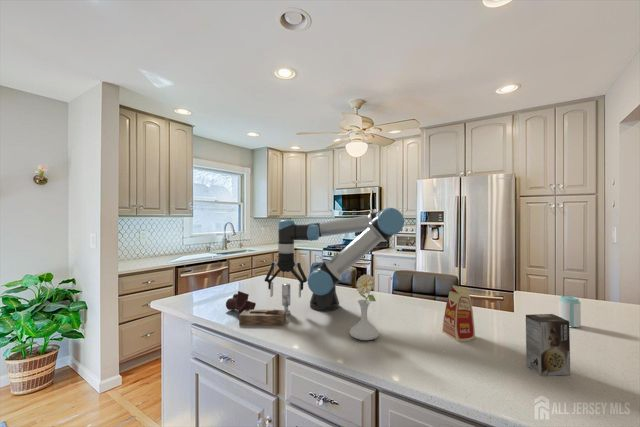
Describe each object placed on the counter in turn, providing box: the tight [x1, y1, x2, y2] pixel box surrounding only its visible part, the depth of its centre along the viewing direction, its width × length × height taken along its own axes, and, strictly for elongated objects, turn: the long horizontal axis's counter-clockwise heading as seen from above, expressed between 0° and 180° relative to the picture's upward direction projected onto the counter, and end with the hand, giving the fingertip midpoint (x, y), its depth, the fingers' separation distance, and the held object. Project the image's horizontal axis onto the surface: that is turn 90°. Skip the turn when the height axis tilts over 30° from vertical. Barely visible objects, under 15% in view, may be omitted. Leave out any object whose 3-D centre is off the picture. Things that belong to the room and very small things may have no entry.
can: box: [558, 295, 582, 328], centre depth 125 cm, size 7×7×12 cm
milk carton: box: [441, 284, 476, 342], centre depth 115 cm, size 9×9×20 cm
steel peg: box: [281, 282, 291, 316], centre depth 140 cm, size 4×4×14 cm
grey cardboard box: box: [525, 313, 571, 377], centre depth 89 cm, size 9×6×16 cm
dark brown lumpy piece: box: [225, 290, 257, 314], centre depth 141 cm, size 6×17×10 cm, turn 54°
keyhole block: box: [238, 308, 287, 326], centre depth 130 cm, size 19×8×4 cm, turn 87°
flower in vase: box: [349, 273, 380, 341], centre depth 113 cm, size 13×11×25 cm
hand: (285, 296), depth 140 cm, fingers open, 13 cm apart
